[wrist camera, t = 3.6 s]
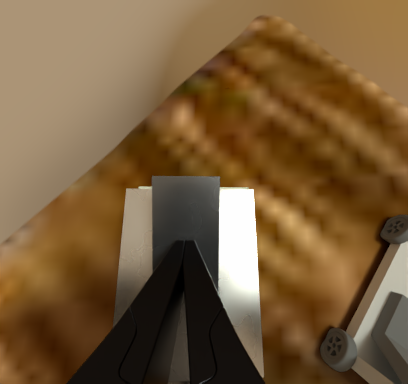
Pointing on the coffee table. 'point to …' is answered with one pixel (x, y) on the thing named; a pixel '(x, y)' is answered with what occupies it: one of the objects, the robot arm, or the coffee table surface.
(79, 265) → the coffee table surface
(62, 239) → the coffee table surface
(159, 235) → the strap
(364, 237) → the coffee table surface
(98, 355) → the robot arm
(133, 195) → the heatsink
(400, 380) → the toy car
